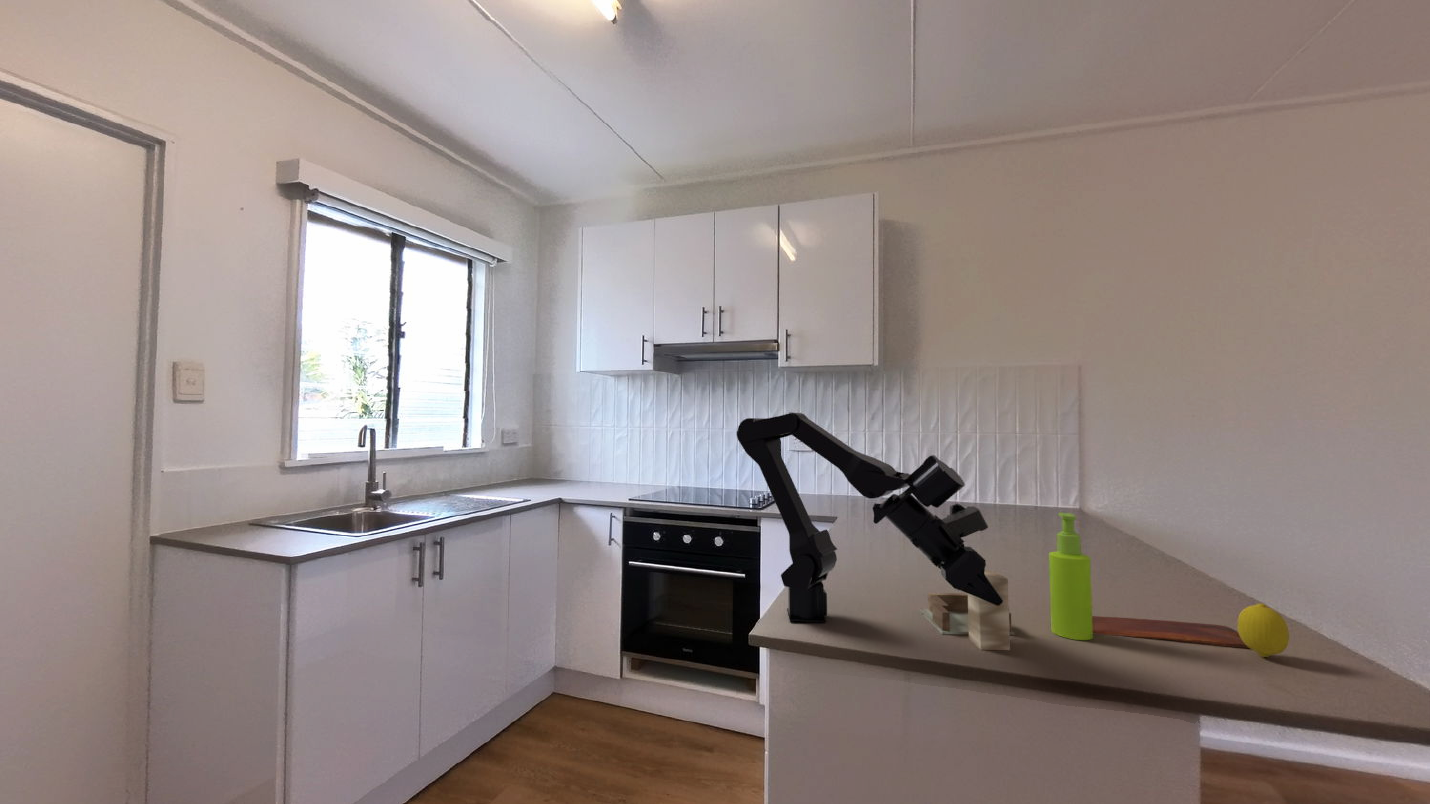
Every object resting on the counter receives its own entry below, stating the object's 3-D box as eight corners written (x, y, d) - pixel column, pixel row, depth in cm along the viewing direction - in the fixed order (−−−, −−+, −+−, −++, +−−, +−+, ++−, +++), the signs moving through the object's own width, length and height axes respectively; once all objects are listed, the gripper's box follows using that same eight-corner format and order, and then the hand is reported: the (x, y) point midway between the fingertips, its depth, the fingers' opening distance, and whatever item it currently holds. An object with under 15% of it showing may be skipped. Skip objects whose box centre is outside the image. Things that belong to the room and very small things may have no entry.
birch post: (980, 649, 86) (978, 578, 87) (968, 638, 91) (967, 571, 91) (1010, 650, 86) (1007, 578, 86) (996, 639, 90) (994, 571, 91)
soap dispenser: (1088, 628, 95) (1083, 512, 96) (1096, 642, 89) (1091, 517, 90) (1048, 623, 97) (1045, 510, 98) (1053, 636, 91) (1049, 515, 92)
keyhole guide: (941, 634, 93) (941, 613, 93) (919, 611, 104) (919, 593, 104) (1014, 635, 92) (1014, 614, 92) (984, 612, 104) (983, 593, 104)
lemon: (1296, 668, 79) (1293, 612, 79) (1244, 660, 82) (1241, 605, 82) (1283, 655, 84) (1280, 601, 84) (1234, 647, 86) (1231, 595, 87)
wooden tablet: (1229, 632, 95) (1228, 622, 95) (1265, 655, 85) (1265, 644, 85) (1052, 615, 103) (1052, 606, 103) (1068, 634, 94) (1067, 624, 94)
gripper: (967, 496, 81) (1052, 575, 78) (941, 484, 99) (1009, 548, 97) (913, 549, 82) (995, 628, 80) (897, 527, 101) (963, 591, 98)
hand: (991, 594), depth 88 cm, fingers open, 9 cm apart
